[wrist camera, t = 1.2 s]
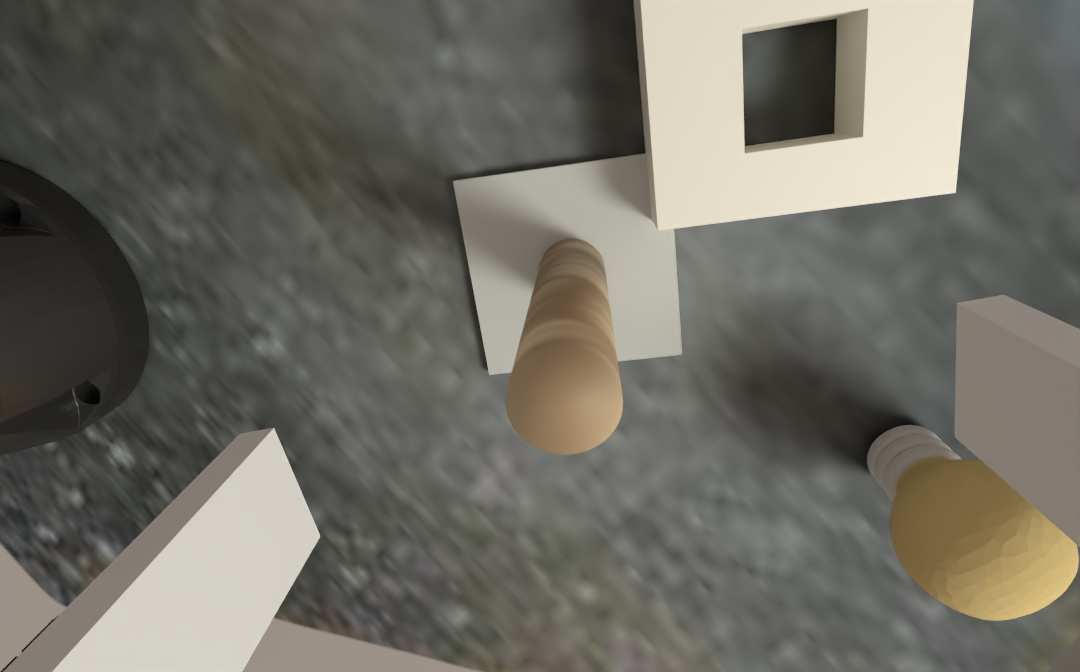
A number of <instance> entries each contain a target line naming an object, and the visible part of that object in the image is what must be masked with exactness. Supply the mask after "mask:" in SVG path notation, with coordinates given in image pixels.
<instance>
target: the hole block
mask: <svg viewBox="0 0 1080 672" xmlns="http://www.w3.org/2000/svg"><path fill="white" fill-rule="evenodd" d="M973 1H974V0H633V2H634V15H635V27H636V40H637V52H638V65H639V78H640V90H641V103H642V115H643V128H644V141H645V153H646V156H647V169H648V181H649V194H650V207H651V219H652V222H653V223H654V225H655V227H656V228H657V230H658V231H660V230H667V229H675V228H683V227H691V226H699V225H707V224H714V223H722V222H730V221H738V220H746V219H754V218H761V217H769V216H777V215H785V214H793V213H801V212H808V211H816V210H824V209H832V208H840V207H848V206H856V205H863V204H871V203H879V202H887V201H895V200H903V199H910V198H918V197H926V196H934V195H942V194H950V193H956V183H957V172H958V162H959V151H960V140H961V130H962V119H963V108H964V97H965V87H966V76H967V65H968V54H969V44H970V33H971V22H972V12H973ZM833 19H837V36H836V77H835V119H834V134H827V135H820V136H813V137H806V138H799V139H792V140H784V141H777V142H770V143H763V144H756V145H749V146H745V143H744V102H743V62H742V34H746V33H752V32H758V31H764V30H771V29H777V28H783V27H789V26H795V25H802V24H808V23H814V22H820V21H826V20H833Z"/></svg>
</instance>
